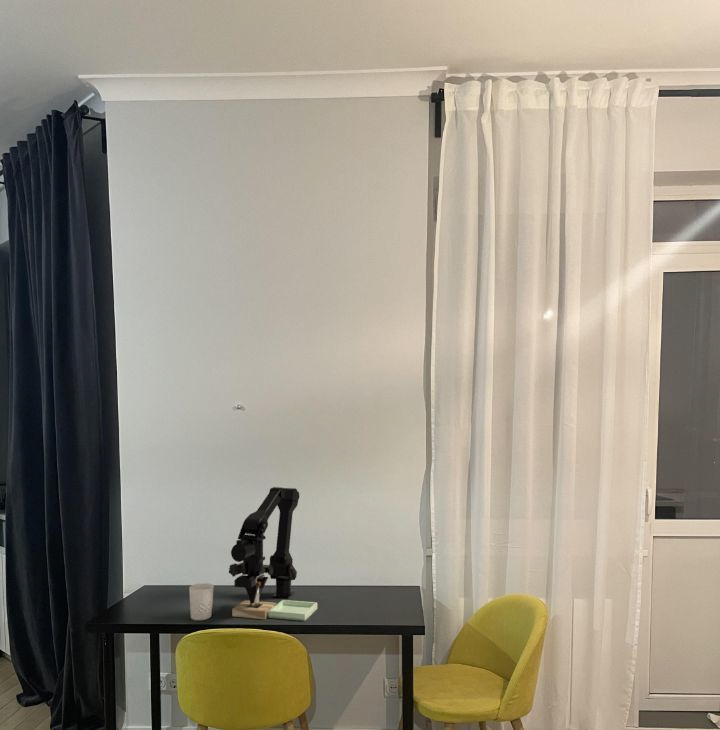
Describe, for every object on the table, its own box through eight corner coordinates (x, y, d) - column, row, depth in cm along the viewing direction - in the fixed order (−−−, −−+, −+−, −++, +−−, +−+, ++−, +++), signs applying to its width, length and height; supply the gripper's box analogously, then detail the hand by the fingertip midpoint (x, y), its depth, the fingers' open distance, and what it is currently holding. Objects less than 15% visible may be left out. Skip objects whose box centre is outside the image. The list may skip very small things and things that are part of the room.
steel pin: (251, 608, 202) (251, 580, 203) (262, 609, 201) (262, 581, 202) (246, 612, 198) (246, 584, 199) (257, 613, 197) (257, 584, 198)
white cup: (189, 622, 192) (189, 591, 193) (188, 614, 199) (189, 584, 200) (213, 619, 194) (214, 588, 195) (212, 612, 202) (213, 582, 202)
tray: (282, 606, 207) (282, 599, 207) (317, 609, 203) (317, 602, 203) (268, 617, 195) (268, 611, 195) (304, 621, 192) (304, 614, 192)
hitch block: (244, 607, 206) (244, 600, 206) (276, 610, 202) (276, 602, 203) (232, 616, 197) (232, 608, 197) (265, 619, 194) (265, 611, 194)
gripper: (245, 547, 212) (245, 591, 211) (220, 560, 194) (219, 608, 193) (273, 549, 209) (273, 593, 208) (250, 562, 191) (250, 611, 190)
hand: (254, 601), depth 200 cm, fingers closed on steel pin, 3 cm apart
